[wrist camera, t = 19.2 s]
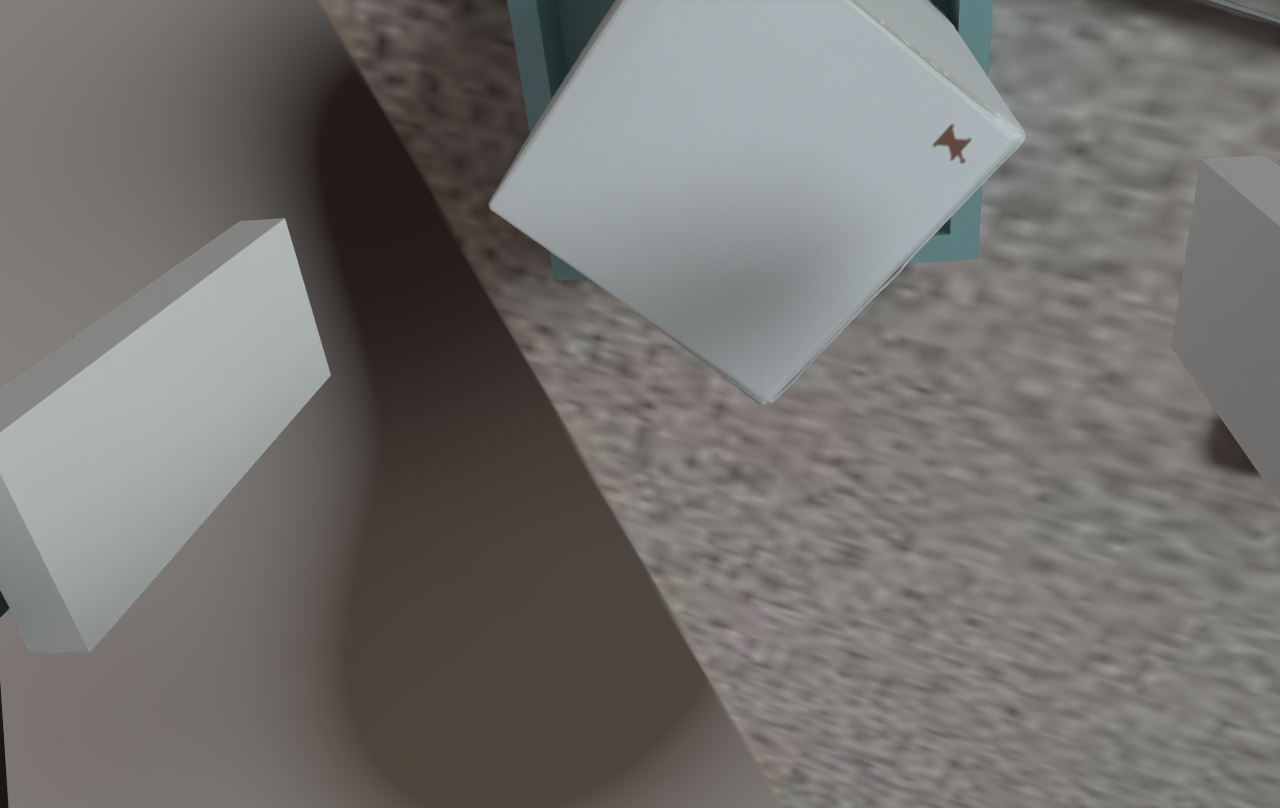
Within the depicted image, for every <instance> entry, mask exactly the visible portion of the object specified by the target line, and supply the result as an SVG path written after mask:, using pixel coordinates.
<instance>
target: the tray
mask: <svg viewBox="0 0 1280 808" xmlns="http://www.w3.org/2000/svg"><path fill="white" fill-rule="evenodd" d="M931 1H932V2H934V3H935V4H936V5H937V6H938V7H939V8H940V9H941V10H942V11H943V12H944V13H946V15H947V16H948V18H949V19H950V21H951V23H952V24H953V26H954V27H955V29H956V30H957V32H958V33H959V35H960V36H961V38H962V39H963V41H964V42H965V44H966V45H967V47H968V48H969V50H970V51H971V53H972V54H973V56H974V57H975V59H976V60H977V62H978V63H979V65H980V66H981V68H982V69H983V71H984V72H985V74H986V75H987V77H988V71H989V53H990V35H991V18H992V0H931ZM614 2H615V0H507V3H508V9H509V15H510V21H511V27H512V33H513V39H514V45H515V51H516V57H517V63H518V69H519V74H520V80H521V86H522V92H523V98H524V104H525V110H526V116H527V122H528V128H529V134H530V133H531V132H532V130H533V128H534V127H535V125H536V123H537V122H538V120H539V118H540V117H541V115H542V114H543V112H544V110H545V109H546V107H547V106H548V104H549V102H550V101H551V99H552V98H553V96H554V94H555V93H556V91H557V90H558V88H559V87H560V85H561V83H562V82H563V80H564V79H565V77H566V75H567V74H568V72H569V71H570V69H571V68H572V66H573V65H574V63H575V61H576V60H577V58H578V57H579V55H580V54H581V52H582V51H583V49H584V47H585V46H586V44H587V43H588V41H589V40H590V38H591V37H592V35H593V33H594V32H595V30H596V29H597V27H598V26H599V24H600V23H601V21H602V20H603V18H604V17H605V15H606V14H607V12H608V11H609V9H610V8H611V6H612V5H613V3H614ZM981 194H982V185H981V186H980V187H979V188H978V189H977V190H976V191H975V192H974V193H973V195H972V196H971V197H970V198H969V199H968V200H967V201H966V202H965V203H964V204H963V205H962V206H961V207H960V208H959V209H958V210H957V211H956V212H955V213H954V214H953V215H952V216H951V217H950V218H949V220H948V221H947V222H946V223H945V224H944V225H943V226H942V227H941V228H940V229H939V230H938V231H937V232H936V233H935V234H934V235H933V236H932V237H931V238H930V240H929V241H928V242H927V243H926V244H925V245H924V246H923V247H922V248H921V249H920V250H919V251H918V252H917V253H916V254H915V255H914V256H913V257H912V258H911V259H910V261H909V262H908V263H913V262H932V261H951V260H970V259H978V247H979V229H980V212H981ZM549 253H550V259H551V265H552V271H553V277H554V281H571V280H590V279H588V278H587V277H586V276H584V275H583V274H581V273H580V272H579V271H577V270H576V269H574V268H573V267H571V266H570V265H569V264H567V263H566V262H564V261H563V260H561V259H560V258H559V257H557V256H556V255H554V254H553V253H551V252H550V251H549Z"/></svg>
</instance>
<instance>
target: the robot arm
mask: <svg viewBox="0 0 1280 808" xmlns="http://www.w3.org/2000/svg"><path fill="white" fill-rule="evenodd" d="M1171 347H1172V349H1173V350H1174V352H1175V353H1176V354H1177V356H1178V357H1179V359H1180V360H1181V362H1182V363H1183V365H1184V366H1185V367H1186V369H1187V370H1188V372H1189V373H1190V375H1191V376H1192V377H1193V379H1194V380H1195V382H1196V383H1197V385H1198V386H1199V388H1200V389H1201V390H1202V392H1203V393H1204V395H1205V396H1206V398H1207V399H1208V401H1209V402H1210V403H1211V405H1212V406H1213V408H1214V409H1215V411H1216V412H1217V413H1218V415H1219V416H1220V418H1221V419H1222V421H1223V422H1224V424H1225V425H1226V426H1227V428H1228V429H1229V431H1230V432H1231V434H1232V435H1233V436H1234V438H1235V439H1236V441H1237V442H1238V444H1239V445H1240V447H1241V448H1242V449H1243V451H1244V452H1245V454H1246V455H1247V457H1248V458H1249V459H1250V461H1251V462H1252V464H1253V465H1254V467H1255V468H1256V470H1257V471H1258V472H1259V474H1260V475H1261V477H1262V478H1263V480H1264V481H1265V482H1266V484H1267V485H1268V487H1269V488H1270V490H1271V491H1272V493H1273V494H1274V495H1275V497H1276V498H1277V500H1278V501H1279V503H1280V166H1279V165H1277V164H1276V163H1275V162H1273V161H1272V160H1270V159H1269V158H1268V157H1266V156H1265V155H1260V156H1245V157H1229V158H1214V159H1201V163H1200V169H1199V175H1198V182H1197V188H1196V194H1195V200H1194V207H1193V213H1192V219H1191V226H1190V232H1189V238H1188V244H1187V251H1186V257H1185V263H1184V269H1183V276H1182V282H1181V288H1180V295H1179V301H1178V307H1177V313H1176V320H1175V326H1174V332H1173V339H1172V345H1171ZM330 376H331V374H330V371H329V367H328V364H327V360H326V357H325V354H324V350H323V347H322V344H321V340H320V337H319V333H318V330H317V326H316V323H315V319H314V316H313V312H312V309H311V306H310V302H309V299H308V295H307V292H306V289H305V285H304V282H303V278H302V275H301V272H300V268H299V265H298V261H297V258H296V254H295V251H294V248H293V244H292V241H291V237H290V234H289V230H288V227H287V224H286V220H285V218H281V219H265V220H250V221H239V222H238V223H237V224H235V225H234V226H232V227H231V228H229V229H228V230H226V231H225V232H224V233H222V234H221V235H219V236H218V237H216V238H215V239H214V240H212V241H211V242H209V243H208V244H206V245H205V246H204V247H202V248H201V249H199V250H198V251H197V252H195V253H194V254H192V255H191V256H190V257H188V258H186V259H185V260H183V261H182V262H181V263H179V264H178V265H176V266H175V267H173V268H172V269H171V270H169V271H168V272H166V273H165V274H163V275H162V276H161V277H159V278H158V279H156V280H155V281H153V282H152V283H151V284H149V285H148V286H146V287H145V288H143V289H142V290H140V291H139V292H138V293H136V294H135V295H133V296H132V297H130V298H129V299H128V300H126V301H125V302H123V303H122V304H120V305H119V306H118V307H116V308H115V309H113V310H112V311H110V312H109V313H107V314H106V315H105V316H104V317H102V318H101V319H99V320H97V321H96V322H95V323H93V324H92V325H90V326H89V327H87V328H86V329H85V330H83V331H82V332H80V333H79V334H77V335H76V336H75V337H73V338H72V339H70V340H69V341H67V342H66V343H64V344H63V345H62V346H60V347H59V348H57V349H56V350H54V351H53V352H52V353H50V354H49V355H47V356H46V357H44V358H43V359H42V360H40V361H39V362H37V363H36V364H34V365H33V366H32V367H30V368H29V369H27V370H26V371H24V372H23V373H21V374H20V375H19V376H17V377H16V378H14V379H13V380H11V381H10V382H9V383H7V384H6V385H4V386H3V387H2V388H0V617H1V616H2V615H3V614H4V613H5V612H6V611H7V610H8V612H9V614H10V616H11V618H12V620H13V622H14V623H15V625H16V627H17V629H18V631H19V633H20V635H21V636H22V638H23V640H24V642H25V644H26V646H27V647H28V650H29V651H30V652H55V653H90V652H91V651H92V650H93V649H94V648H95V646H96V645H97V644H98V643H99V642H100V641H101V640H102V638H103V637H104V636H105V635H106V634H107V632H109V630H110V629H111V628H112V627H113V626H114V625H115V623H116V622H117V621H118V620H119V619H120V618H121V617H122V615H123V614H124V613H125V612H126V611H127V610H128V609H129V607H130V606H131V605H132V604H133V603H134V602H135V600H136V599H137V598H138V597H139V596H140V595H141V594H142V592H143V591H144V590H145V589H146V588H147V587H148V585H149V584H150V583H151V582H152V581H153V580H154V579H155V577H156V576H157V575H158V574H159V573H160V571H161V570H162V569H163V568H164V567H165V566H166V565H167V563H168V562H169V561H170V560H171V559H172V558H173V556H174V555H175V554H176V553H177V552H178V551H179V550H180V549H181V547H182V546H183V545H184V544H185V543H186V542H187V540H188V539H189V538H190V537H191V536H192V535H193V533H194V532H195V531H196V530H197V529H198V528H199V527H200V525H201V524H202V523H203V522H204V521H205V520H206V518H207V517H208V516H209V515H210V514H211V512H213V510H214V509H215V508H216V507H217V506H218V505H219V504H220V502H221V501H222V500H223V499H224V498H225V496H226V495H227V494H228V493H229V492H230V491H231V490H232V489H233V487H234V486H235V485H236V484H237V483H238V482H239V480H240V479H241V478H242V477H243V476H244V475H245V474H246V472H247V471H248V470H249V469H250V468H251V467H252V465H253V464H254V463H255V462H256V461H257V460H258V459H259V457H260V456H261V455H262V454H263V453H264V451H265V450H266V449H267V448H268V447H269V446H270V445H271V444H272V442H273V441H274V440H275V439H276V438H277V437H278V436H279V434H280V433H281V432H282V431H283V430H284V428H285V427H286V426H287V425H288V424H289V423H290V422H291V420H292V419H293V418H294V417H295V416H296V415H297V414H298V412H299V411H300V410H301V409H302V408H303V407H304V406H305V404H306V403H307V402H308V401H309V400H310V398H311V397H312V396H313V395H314V394H315V393H316V392H317V391H318V389H319V388H320V387H321V386H322V385H323V383H324V382H325V381H326V380H327V379H328V378H329V377H330ZM0 808H8V793H7V780H6V763H5V748H4V733H3V717H2V702H1V686H0Z"/></svg>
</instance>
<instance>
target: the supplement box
mask: <svg viewBox="0 0 1280 808" xmlns="http://www.w3.org/2000/svg"><path fill="white" fill-rule="evenodd" d="M1024 140H1025V132H1024V130H1023V128H1022V127H1021V125H1020V124H1019V123H1018V121H1017V120H1016V118H1015V117H1014V116H1013V114H1012V113H1011V111H1010V110H1009V108H1008V106H1007V105H1006V104H1005V102H1004V101H1003V99H1002V98H1001V96H1000V95H999V93H998V92H997V90H996V89H995V87H994V86H993V84H992V83H991V81H990V80H989V78H988V77H987V75H986V74H985V72H984V71H983V69H982V68H981V66H980V65H979V63H978V62H977V60H976V59H975V57H974V56H973V54H972V53H971V51H970V50H969V48H968V47H967V45H966V44H965V42H964V41H963V39H962V38H961V36H960V35H959V33H958V32H957V30H956V29H955V27H954V26H953V24H952V23H951V21H950V19H949V18H948V16H947V15H946V13H944V12H943V11H942V10H941V9H940V8H939V7H938V6H937V5H936V4H935V3H934V2H932V1H931V0H615V2H614V3H613V5H612V6H611V8H610V9H609V11H608V12H607V14H606V15H605V17H604V18H603V20H602V21H601V23H600V24H599V26H598V27H597V29H596V30H595V32H594V33H593V35H592V37H591V38H590V40H589V41H588V43H587V44H586V46H585V47H584V49H583V51H582V52H581V54H580V55H579V57H578V58H577V60H576V61H575V63H574V65H573V66H572V68H571V69H570V71H569V72H568V74H567V75H566V77H565V79H564V80H563V82H562V83H561V85H560V87H559V88H558V90H557V91H556V93H555V94H554V96H553V98H552V99H551V101H550V102H549V104H548V106H547V107H546V109H545V110H544V112H543V114H542V115H541V117H540V118H539V120H538V122H537V123H536V125H535V127H534V128H533V130H532V132H531V133H530V135H529V136H528V138H527V140H526V141H525V143H524V145H523V146H522V148H521V150H520V151H519V153H518V155H517V156H516V158H515V159H514V161H513V163H512V164H511V166H510V168H509V169H508V171H507V173H506V174H505V176H504V178H503V179H502V181H501V183H500V184H499V186H498V188H497V189H496V191H495V193H494V194H493V196H492V198H491V200H490V202H489V208H490V210H491V211H493V212H494V213H496V214H497V215H499V216H500V217H502V218H503V219H505V220H506V221H508V222H509V223H510V224H512V225H513V226H515V227H516V228H517V229H519V230H520V231H522V232H523V233H524V234H526V235H527V236H529V237H530V238H532V239H533V240H534V241H536V242H537V243H539V244H540V245H541V246H543V247H544V248H546V249H547V250H549V251H550V252H551V253H553V254H554V255H556V256H557V257H559V258H560V259H561V260H563V261H564V262H566V263H567V264H569V265H570V266H571V267H573V268H574V269H576V270H577V271H579V272H580V273H581V274H583V275H584V276H586V277H587V278H588V279H590V280H591V281H593V282H594V283H596V284H597V285H598V286H600V287H601V288H603V289H604V290H606V291H607V292H608V293H610V294H611V295H613V296H614V297H616V298H617V299H618V300H620V301H621V302H623V303H624V304H625V305H627V306H628V307H629V308H631V309H632V310H633V311H635V312H636V313H637V314H639V315H640V316H641V317H643V318H644V319H645V320H647V321H648V322H650V323H651V324H652V325H654V326H655V327H656V328H658V329H659V330H660V331H662V332H663V333H664V334H666V335H667V336H668V337H670V338H671V339H672V340H674V341H675V342H677V343H678V344H679V345H681V346H682V347H683V348H685V349H686V350H687V351H689V352H690V353H691V354H693V355H694V356H695V357H697V358H698V359H699V360H701V361H702V362H703V363H705V364H706V365H707V366H709V367H710V368H711V369H713V370H714V371H716V372H717V373H718V374H720V375H721V376H723V377H724V378H725V379H727V380H728V381H729V382H731V383H732V384H733V385H735V386H736V387H737V388H739V389H740V390H741V391H743V392H744V393H745V394H747V395H748V396H749V397H751V398H752V399H753V400H754V401H756V402H757V403H759V404H762V405H768V404H770V403H772V402H774V401H775V400H776V399H778V398H779V397H780V396H781V395H782V394H783V393H784V391H785V390H786V389H787V388H788V387H789V386H790V385H791V384H792V383H793V382H794V381H795V380H796V379H797V378H798V377H799V376H800V375H801V374H802V373H803V372H804V371H805V370H806V368H807V367H808V366H809V365H810V364H811V363H812V362H813V361H814V360H815V359H816V358H817V357H818V356H819V355H820V353H821V352H822V351H823V350H824V349H825V348H826V347H827V346H828V345H829V344H830V343H831V342H832V341H833V340H834V339H835V338H836V337H837V336H838V335H839V334H840V333H841V332H842V331H843V330H844V328H845V327H846V326H847V325H848V324H849V323H850V322H851V321H852V320H853V319H854V318H855V317H856V316H857V315H858V314H859V313H860V312H861V310H862V309H863V308H864V307H865V306H866V305H867V304H868V303H869V302H870V301H871V300H872V299H873V298H874V297H875V296H876V295H877V294H878V293H880V292H881V291H882V290H883V289H884V288H885V287H886V286H887V285H888V284H889V283H890V282H891V281H892V280H893V279H894V278H895V277H896V276H897V275H898V274H899V273H900V272H901V271H902V269H903V268H904V267H905V266H906V264H907V263H908V262H909V261H910V259H911V258H912V257H913V256H914V255H915V254H916V253H917V252H918V251H919V250H920V249H921V248H922V247H923V246H924V245H925V244H926V243H927V242H928V241H929V240H930V238H931V237H932V236H933V235H934V234H935V233H936V232H937V231H938V230H939V229H940V228H941V227H942V226H943V225H944V224H945V223H946V222H947V221H948V220H949V218H950V217H951V216H952V215H953V214H954V213H955V212H956V211H957V210H958V209H959V208H960V207H961V206H962V205H963V204H964V203H965V202H966V201H967V200H968V199H969V198H970V197H971V196H972V195H973V193H974V192H975V191H976V190H977V189H978V188H979V187H980V186H981V185H982V184H983V183H984V182H985V181H986V180H987V179H988V178H989V177H990V176H991V175H992V174H993V173H994V172H995V170H996V169H997V168H998V167H999V166H1000V165H1001V164H1002V163H1003V162H1005V161H1006V160H1007V159H1008V158H1009V157H1010V156H1011V155H1012V154H1013V153H1014V152H1015V151H1016V150H1017V149H1018V148H1019V147H1020V146H1021V145H1022V143H1023V142H1024Z"/></svg>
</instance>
